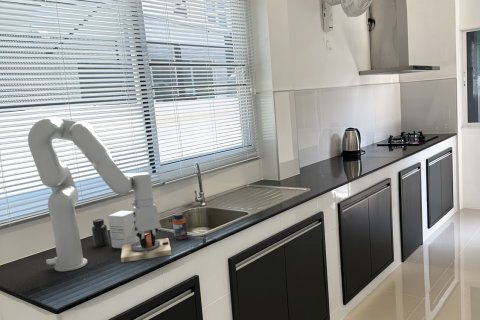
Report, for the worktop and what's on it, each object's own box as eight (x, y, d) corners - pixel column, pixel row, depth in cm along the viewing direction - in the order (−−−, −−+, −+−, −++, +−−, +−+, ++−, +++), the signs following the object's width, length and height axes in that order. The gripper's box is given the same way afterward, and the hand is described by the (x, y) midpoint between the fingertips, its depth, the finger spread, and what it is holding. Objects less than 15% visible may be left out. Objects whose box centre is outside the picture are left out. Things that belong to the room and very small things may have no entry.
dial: (128, 246, 192) (126, 231, 191) (155, 240, 198) (153, 225, 197) (135, 253, 181) (133, 237, 180) (164, 247, 186) (162, 231, 186)
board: (121, 262, 179) (120, 256, 179) (123, 249, 197) (122, 243, 196) (171, 254, 183) (170, 248, 183) (168, 242, 201) (168, 236, 200)
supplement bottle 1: (103, 242, 211) (99, 217, 209) (112, 243, 207) (109, 218, 205) (90, 246, 205) (87, 221, 204) (100, 248, 201) (96, 222, 200)
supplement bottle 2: (181, 235, 210) (178, 211, 209) (190, 236, 206) (187, 212, 205) (172, 239, 205) (169, 215, 204) (180, 240, 202) (178, 216, 200)
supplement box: (124, 241, 209) (120, 210, 207) (140, 242, 205) (136, 210, 203) (111, 247, 201) (106, 215, 199) (126, 249, 197) (122, 216, 195)
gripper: (130, 207, 175) (134, 253, 177) (166, 200, 186) (170, 242, 188) (121, 205, 181) (125, 249, 183) (156, 198, 191) (160, 239, 193)
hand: (148, 245), depth 185 cm, fingers open, 3 cm apart
